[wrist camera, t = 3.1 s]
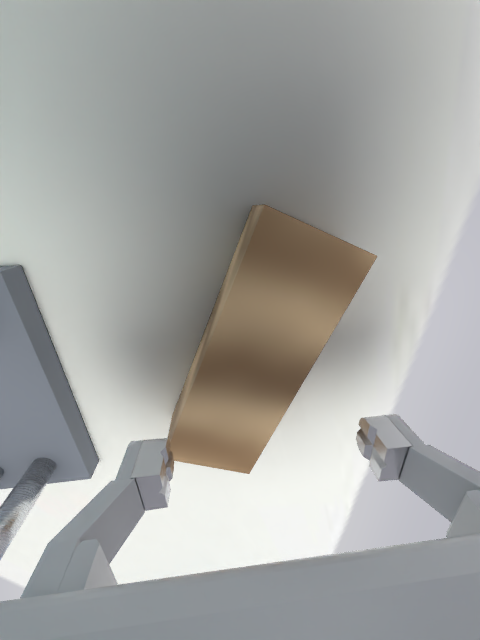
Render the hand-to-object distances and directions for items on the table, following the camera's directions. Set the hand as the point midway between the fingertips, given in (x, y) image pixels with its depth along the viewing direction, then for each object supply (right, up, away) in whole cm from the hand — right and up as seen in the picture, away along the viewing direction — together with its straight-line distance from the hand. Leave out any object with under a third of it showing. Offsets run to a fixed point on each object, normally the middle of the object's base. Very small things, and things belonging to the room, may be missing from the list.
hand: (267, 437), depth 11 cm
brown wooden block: (-1, +4, +7) cm, 8 cm away
